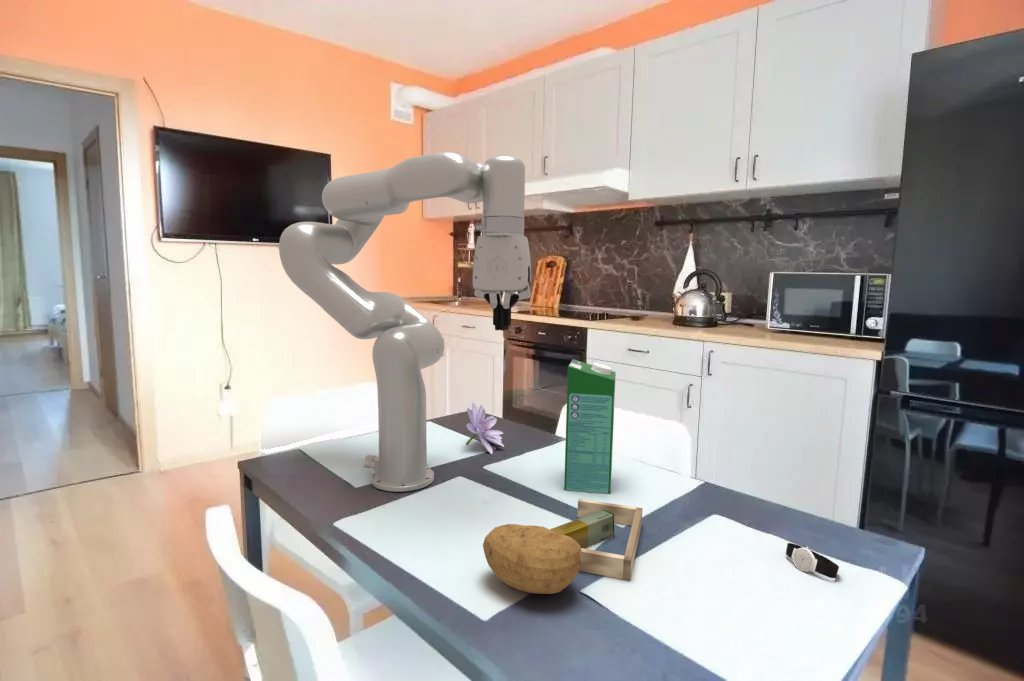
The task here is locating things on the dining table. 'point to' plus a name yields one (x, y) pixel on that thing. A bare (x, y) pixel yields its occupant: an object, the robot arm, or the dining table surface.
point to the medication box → (589, 528)
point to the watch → (811, 561)
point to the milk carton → (589, 427)
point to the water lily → (483, 427)
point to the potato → (532, 557)
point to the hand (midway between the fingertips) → (501, 329)
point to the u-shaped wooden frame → (607, 561)
